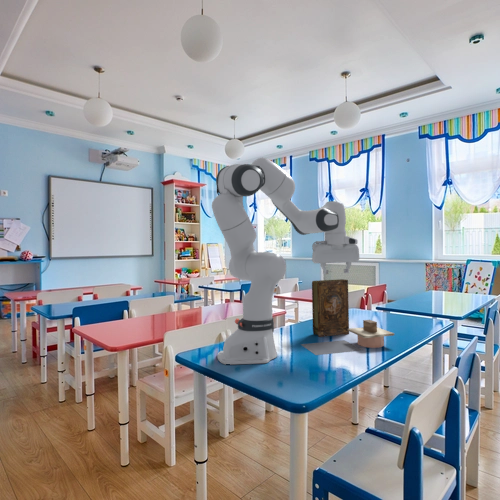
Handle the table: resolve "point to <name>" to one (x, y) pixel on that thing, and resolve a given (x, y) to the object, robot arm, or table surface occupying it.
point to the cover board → (369, 335)
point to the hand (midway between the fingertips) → (336, 273)
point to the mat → (331, 347)
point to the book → (330, 307)
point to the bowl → (371, 342)
